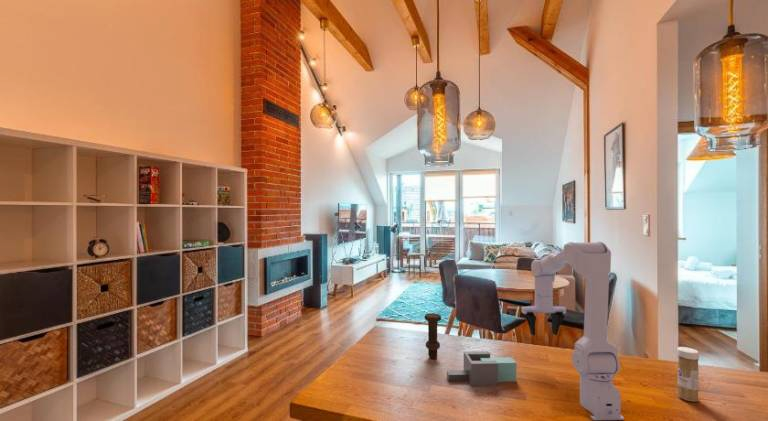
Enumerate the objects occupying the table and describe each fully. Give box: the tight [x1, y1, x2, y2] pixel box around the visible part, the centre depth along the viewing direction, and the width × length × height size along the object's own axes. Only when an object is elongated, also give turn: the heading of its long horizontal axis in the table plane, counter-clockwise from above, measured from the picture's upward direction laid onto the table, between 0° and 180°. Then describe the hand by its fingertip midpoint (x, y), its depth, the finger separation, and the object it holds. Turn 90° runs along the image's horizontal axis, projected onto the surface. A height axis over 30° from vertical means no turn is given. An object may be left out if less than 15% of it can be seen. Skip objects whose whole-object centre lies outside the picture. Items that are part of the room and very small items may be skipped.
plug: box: [480, 356, 517, 383], centre depth 109 cm, size 4×10×6 cm, turn 92°
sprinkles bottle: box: [676, 346, 700, 403], centre depth 97 cm, size 5×5×14 cm
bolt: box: [424, 312, 442, 360], centre depth 124 cm, size 6×5×15 cm
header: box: [446, 350, 499, 387], centre depth 109 cm, size 9×14×7 cm, turn 92°
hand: (543, 334), depth 121 cm, fingers open, 7 cm apart
